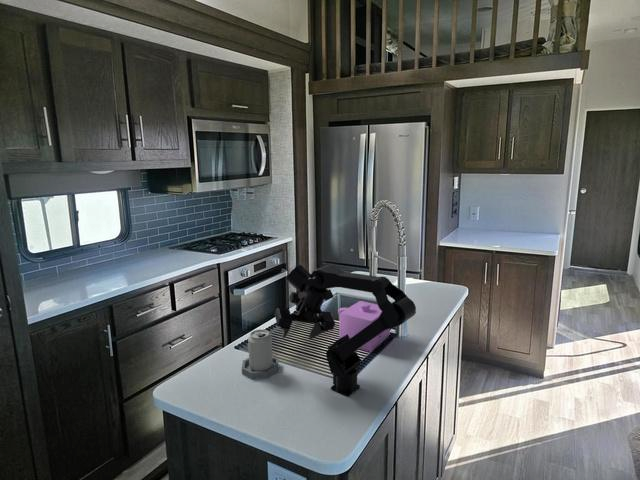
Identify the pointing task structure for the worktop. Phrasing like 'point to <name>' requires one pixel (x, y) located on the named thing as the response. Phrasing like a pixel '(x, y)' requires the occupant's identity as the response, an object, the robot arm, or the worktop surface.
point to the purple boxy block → (360, 322)
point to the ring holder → (261, 374)
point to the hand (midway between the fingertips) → (296, 338)
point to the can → (260, 350)
